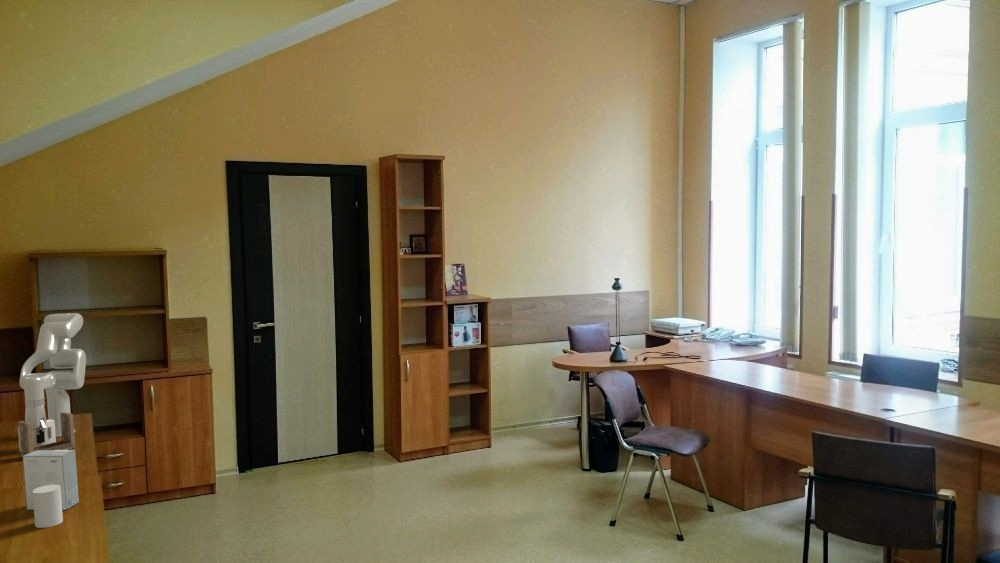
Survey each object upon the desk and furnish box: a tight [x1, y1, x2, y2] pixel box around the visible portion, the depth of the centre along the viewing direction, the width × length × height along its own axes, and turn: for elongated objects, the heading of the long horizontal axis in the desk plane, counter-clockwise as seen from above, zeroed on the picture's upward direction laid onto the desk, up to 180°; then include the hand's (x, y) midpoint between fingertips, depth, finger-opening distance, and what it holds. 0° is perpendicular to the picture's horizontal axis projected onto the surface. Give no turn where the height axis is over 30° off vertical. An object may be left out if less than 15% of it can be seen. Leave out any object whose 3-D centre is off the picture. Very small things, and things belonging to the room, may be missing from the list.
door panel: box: [17, 419, 57, 453], centre depth 343 cm, size 4×14×12 cm, turn 148°
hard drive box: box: [22, 449, 80, 511], centre depth 269 cm, size 16×8×20 cm, turn 84°
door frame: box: [18, 412, 76, 458], centre depth 336 cm, size 8×20×16 cm, turn 148°
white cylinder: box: [33, 485, 64, 529], centre depth 253 cm, size 8×8×12 cm
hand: (37, 441), depth 343 cm, fingers open, 4 cm apart
